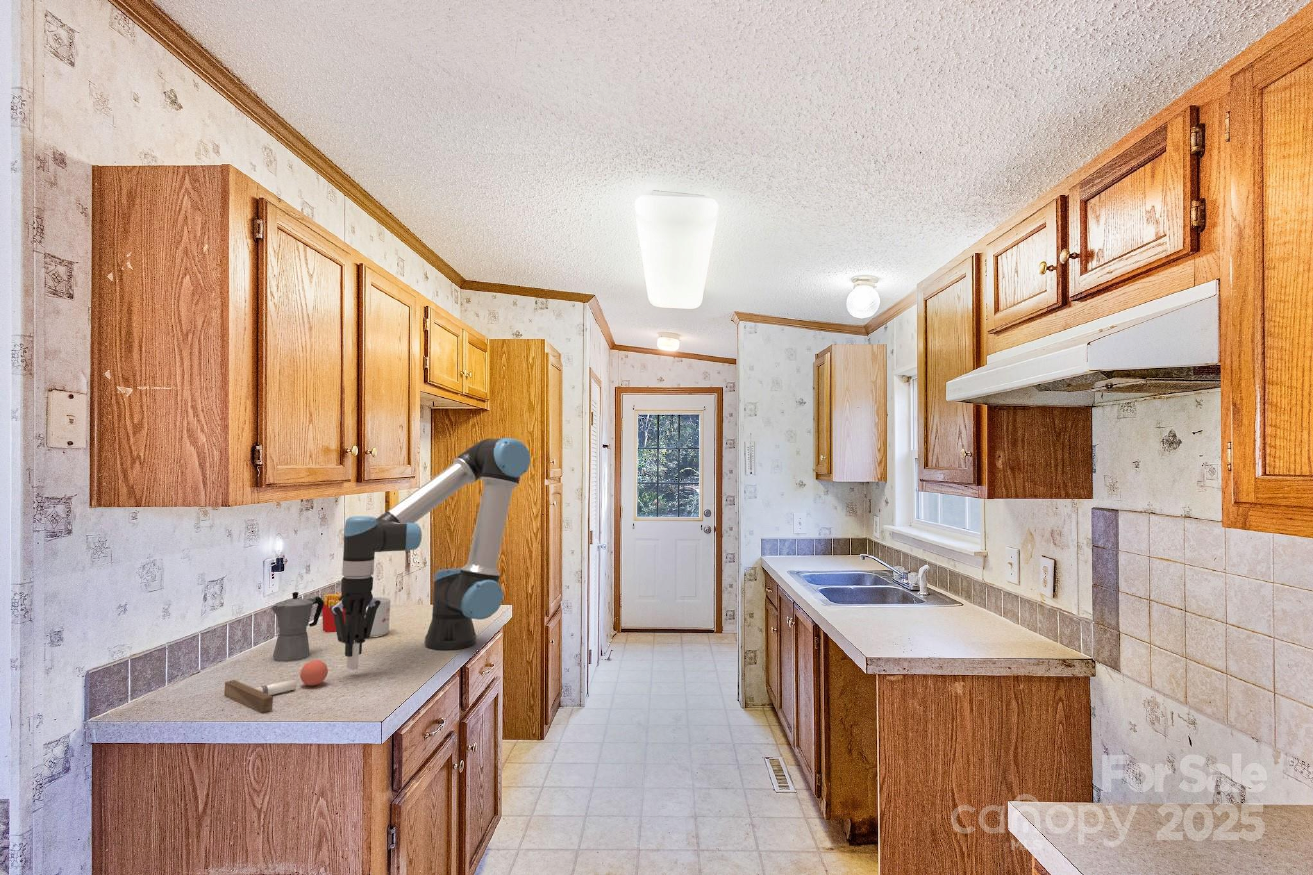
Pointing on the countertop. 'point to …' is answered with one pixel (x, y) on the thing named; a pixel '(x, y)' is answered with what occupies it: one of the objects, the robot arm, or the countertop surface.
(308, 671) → the ball
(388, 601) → the mug
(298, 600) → the coffeepot
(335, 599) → the french fries
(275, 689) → the pin
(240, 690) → the long wooden block
